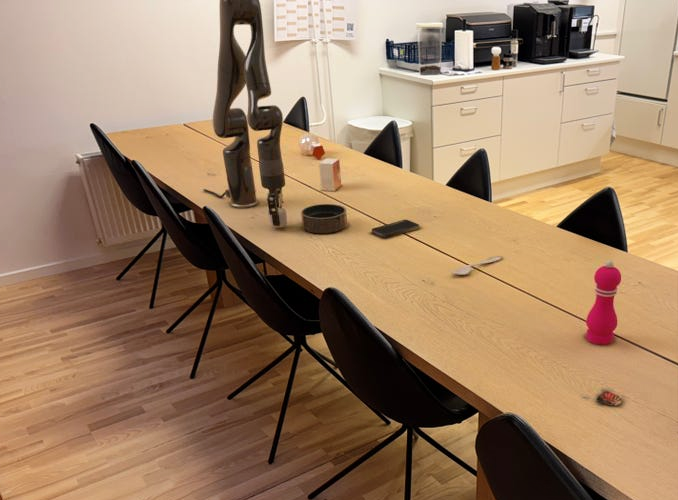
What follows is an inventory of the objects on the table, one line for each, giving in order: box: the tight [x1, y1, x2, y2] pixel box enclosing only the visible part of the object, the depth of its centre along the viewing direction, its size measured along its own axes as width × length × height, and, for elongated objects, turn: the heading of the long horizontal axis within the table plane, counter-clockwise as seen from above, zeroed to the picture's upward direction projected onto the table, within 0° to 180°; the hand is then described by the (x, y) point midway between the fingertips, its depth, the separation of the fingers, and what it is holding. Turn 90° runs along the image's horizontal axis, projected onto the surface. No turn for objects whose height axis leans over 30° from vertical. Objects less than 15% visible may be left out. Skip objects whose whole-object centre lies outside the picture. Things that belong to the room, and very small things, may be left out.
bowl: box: [300, 203, 348, 235], centre depth 227 cm, size 15×15×6 cm
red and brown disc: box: [596, 389, 622, 406], centre depth 140 cm, size 5×5×1 cm
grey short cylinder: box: [267, 207, 288, 228], centre depth 225 cm, size 6×6×5 cm
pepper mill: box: [585, 259, 622, 345], centre depth 157 cm, size 7×7×20 cm
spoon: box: [451, 256, 502, 276], centre depth 199 cm, size 4×21×2 cm, turn 136°
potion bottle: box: [298, 132, 326, 160], centre depth 306 cm, size 9×10×15 cm
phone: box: [371, 219, 420, 239], centre depth 225 cm, size 8×1×15 cm
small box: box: [318, 157, 342, 192], centre depth 263 cm, size 8×6×10 cm
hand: (278, 221), depth 226 cm, fingers closed on grey short cylinder, 6 cm apart
